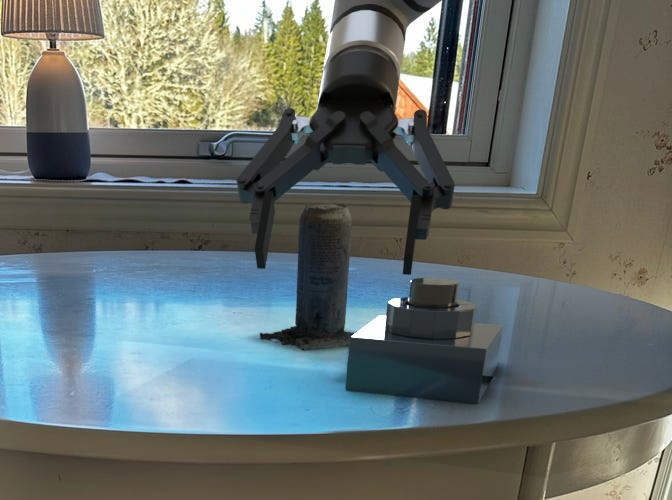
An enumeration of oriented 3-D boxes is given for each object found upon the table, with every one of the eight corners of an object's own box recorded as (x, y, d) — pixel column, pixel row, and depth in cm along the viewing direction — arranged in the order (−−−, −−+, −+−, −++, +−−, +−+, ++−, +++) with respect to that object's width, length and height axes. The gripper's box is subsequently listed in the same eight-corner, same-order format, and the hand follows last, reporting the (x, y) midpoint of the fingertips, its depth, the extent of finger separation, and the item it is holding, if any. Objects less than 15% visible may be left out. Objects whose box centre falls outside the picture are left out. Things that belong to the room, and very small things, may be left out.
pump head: (458, 307, 74) (462, 279, 73) (451, 315, 71) (455, 286, 70) (412, 304, 75) (415, 276, 74) (403, 311, 72) (406, 282, 71)
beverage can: (311, 362, 82) (321, 209, 76) (254, 346, 87) (259, 202, 81) (386, 349, 86) (401, 204, 80) (327, 335, 92) (337, 198, 86)
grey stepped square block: (495, 375, 78) (507, 298, 75) (477, 404, 70) (490, 319, 67) (374, 363, 81) (381, 289, 78) (344, 390, 73) (351, 309, 70)
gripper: (486, 111, 95) (467, 293, 89) (239, 109, 100) (206, 282, 94) (497, 45, 88) (477, 238, 82) (231, 46, 92) (194, 229, 87)
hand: (332, 262), depth 88 cm, fingers open, 13 cm apart
